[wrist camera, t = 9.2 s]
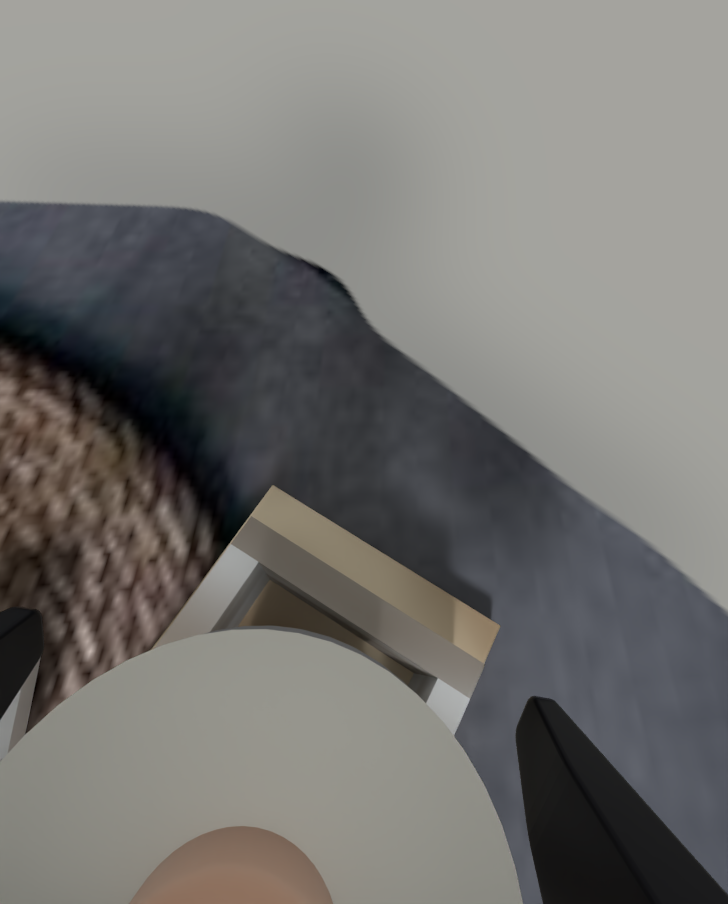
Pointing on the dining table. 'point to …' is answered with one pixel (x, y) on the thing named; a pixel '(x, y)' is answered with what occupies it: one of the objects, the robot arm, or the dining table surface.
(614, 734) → the dining table surface
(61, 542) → the dining table surface
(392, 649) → the box
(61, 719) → the bottle
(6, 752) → the bracket
